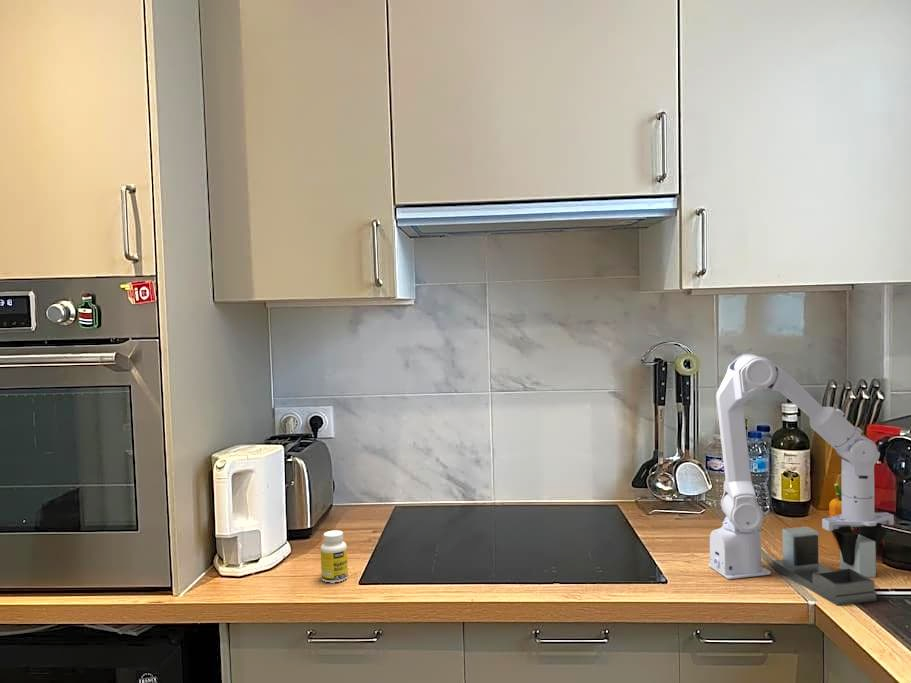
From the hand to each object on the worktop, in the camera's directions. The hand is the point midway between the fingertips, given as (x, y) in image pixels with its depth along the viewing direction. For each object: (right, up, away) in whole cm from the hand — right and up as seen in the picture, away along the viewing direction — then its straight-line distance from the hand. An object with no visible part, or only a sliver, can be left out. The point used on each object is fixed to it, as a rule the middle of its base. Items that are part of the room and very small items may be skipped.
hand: (858, 562), depth 144 cm
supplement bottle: (-106, -6, +7) cm, 106 cm away
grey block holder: (-10, -3, -5) cm, 11 cm away
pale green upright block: (0, -2, 0) cm, 2 cm away
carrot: (+3, -2, +12) cm, 12 cm away
